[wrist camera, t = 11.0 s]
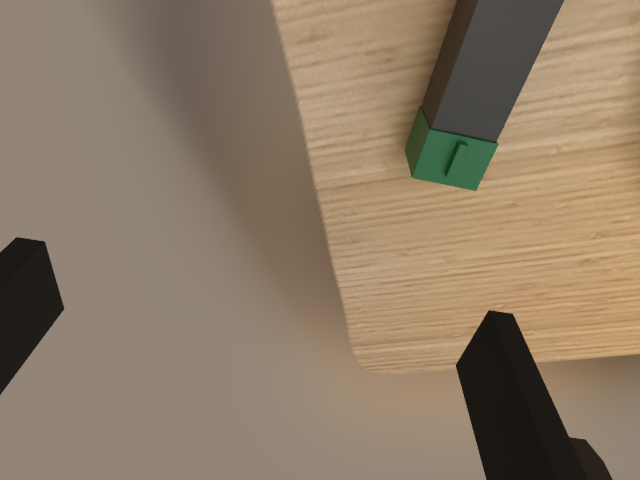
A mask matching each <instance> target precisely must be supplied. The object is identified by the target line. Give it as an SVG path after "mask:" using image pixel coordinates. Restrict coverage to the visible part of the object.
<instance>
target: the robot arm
mask: <svg viewBox="0 0 640 480" xmlns="http://www.w3.org/2000/svg"><path fill="white" fill-rule="evenodd" d="M63 310H64V306H63V303H62V299H61V296H60V292H59V289H58V285H57V282H56V279H55V275H54V272H53V269H52V265H51V261H50V258H49V255H48V251H47V248H46V244H45V242H44V241H38V240H31V239H25V238H18V237H17V238H15V239H14V240H13V241H12V242H11V243H10V244H9V245H8V246H7V247H6V248H5V249H3V250H2V251H1V252H0V394H1V393H2V392H3V390H4V389H5V388H6V386H7V385H8V384H9V382H10V381H11V379H12V378H13V377H14V375H15V374H16V373H17V372H18V370H19V369H20V368H21V366H22V365H23V363H24V362H25V361H26V360H27V358H28V357H29V355H30V354H31V353H32V351H33V350H34V349H35V347H36V346H37V345H38V343H39V342H40V341H41V339H42V338H43V336H44V335H45V334H46V332H47V331H48V330H49V329H50V327H51V326H52V325H53V323H54V322H55V321H56V319H57V318H58V317H59V315H60V314H61V312H62V311H63ZM456 368H457V371H458V375H459V379H460V382H461V386H462V390H463V394H464V398H465V401H466V405H467V408H468V412H469V416H470V420H471V424H472V427H473V431H474V434H475V438H476V442H477V446H478V449H479V453H480V457H481V461H482V465H483V468H484V472H485V476H486V480H612V478H611V476H610V474H609V472H608V470H607V468H606V466H605V464H604V462H603V461H602V459H601V458H600V457H599V456H598V455H597V453H596V452H595V451H594V450H593V448H592V447H591V446H590V445H589V444H588V442H587V441H586V440H584V439H577V438H570V437H569V436H568V434H567V432H566V430H565V427H564V425H563V423H562V421H561V419H560V417H559V414H558V412H557V410H556V408H555V406H554V403H553V401H552V399H551V397H550V395H549V393H548V390H547V388H546V386H545V383H544V382H543V379H542V377H541V375H540V373H539V370H538V368H537V366H536V364H535V362H534V359H533V357H532V355H531V353H530V351H529V348H528V346H527V344H526V342H525V340H524V337H523V335H522V333H521V331H520V329H519V326H518V324H517V322H516V320H515V318H514V315H513V314H510V313H503V312H497V311H490V310H489V311H488V313H487V314H486V316H485V318H484V319H483V321H482V323H481V324H480V326H479V328H478V329H477V331H476V333H475V334H474V336H473V338H472V339H471V341H470V343H469V344H468V346H467V348H466V349H465V351H464V353H463V354H462V356H461V358H460V359H459V361H458V363H457V364H456Z"/></svg>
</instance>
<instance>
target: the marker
mask: <svg viewBox="0 0 640 480" xmlns="http://www.w3.org/2000/svg"><path fill="white" fill-rule="evenodd" d="M563 1H564V0H458V1H457V4H456V7H455V10H454V12H453V15H452V18H451V21H450V24H449V27H448V30H447V33H446V36H445V39H444V42H443V44H442V47H441V50H440V53H439V56H438V59H437V62H436V65H435V68H434V71H433V74H432V77H431V79H430V82H429V85H428V88H427V91H426V94H425V97H424V100H423V103H422V107H421V106H420V107H419V110H418V113H417V116H416V119H415V122H414V125H413V128H412V131H411V134H410V137H409V139H408V142H407V145H406V148H405V152H406V156H407V160H408V164H409V168H410V172H411V176H412V178H416V179H421V180H426V181H431V182H436V183H440V184H445V185H450V186H455V187H460V188H464V189H469V190H474V191H476V190H477V188H478V185H479V183H480V181H481V179H482V177H483V175H484V173H485V171H486V169H487V167H488V165H489V163H490V161H491V159H492V156H493V154H494V152H495V150H496V148H497V146H498V143H497V140H498V137H499V135H500V133H501V131H502V129H503V127H504V125H505V123H506V121H507V119H508V116H509V114H510V112H511V110H512V108H513V106H514V104H515V102H516V100H517V98H518V96H519V93H520V91H521V89H522V87H523V85H524V83H525V81H526V79H527V77H528V75H529V73H530V70H531V68H532V66H533V64H534V62H535V60H536V58H537V56H538V54H539V52H540V50H541V47H542V45H543V43H544V41H545V39H546V37H547V35H548V33H549V31H550V29H551V27H552V24H553V22H554V20H555V18H556V16H557V14H558V12H559V10H560V8H561V6H562V4H563Z"/></svg>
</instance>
